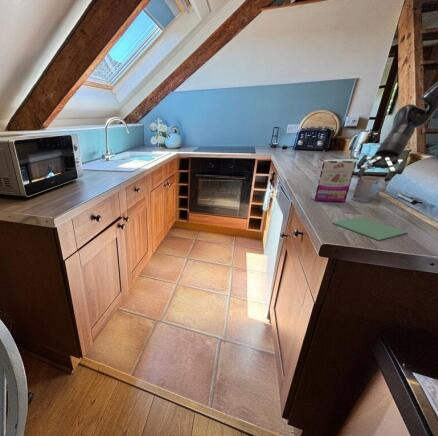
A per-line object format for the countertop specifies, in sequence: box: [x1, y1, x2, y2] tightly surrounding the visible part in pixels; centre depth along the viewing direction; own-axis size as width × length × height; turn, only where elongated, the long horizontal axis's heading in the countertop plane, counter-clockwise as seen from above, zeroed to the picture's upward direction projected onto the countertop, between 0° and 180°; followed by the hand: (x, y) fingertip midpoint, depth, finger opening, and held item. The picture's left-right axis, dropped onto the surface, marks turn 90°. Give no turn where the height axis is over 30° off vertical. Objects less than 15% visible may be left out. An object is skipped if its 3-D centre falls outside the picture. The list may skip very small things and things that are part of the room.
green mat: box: [332, 216, 408, 242], centre depth 75 cm, size 13×13×1 cm
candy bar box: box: [310, 158, 358, 203], centre depth 98 cm, size 11×5×16 cm, turn 76°
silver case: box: [351, 175, 382, 203], centre depth 99 cm, size 5×8×9 cm, turn 123°
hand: (371, 178), depth 98 cm, fingers open, 8 cm apart
